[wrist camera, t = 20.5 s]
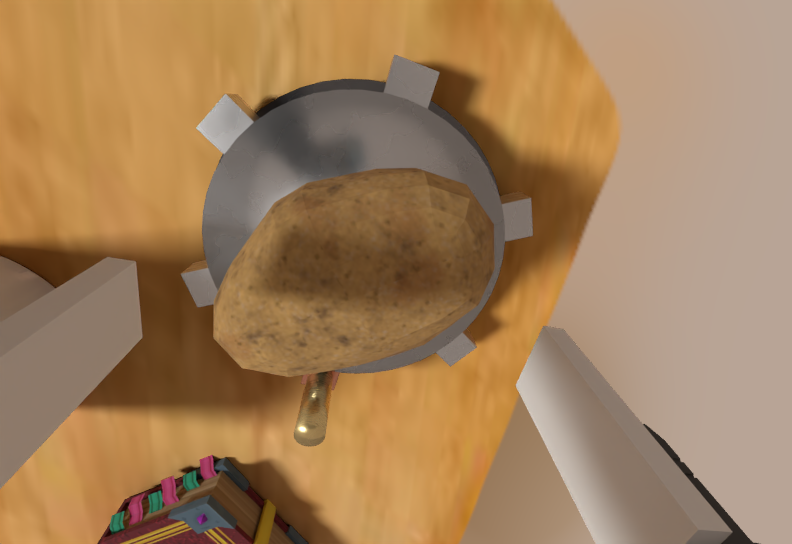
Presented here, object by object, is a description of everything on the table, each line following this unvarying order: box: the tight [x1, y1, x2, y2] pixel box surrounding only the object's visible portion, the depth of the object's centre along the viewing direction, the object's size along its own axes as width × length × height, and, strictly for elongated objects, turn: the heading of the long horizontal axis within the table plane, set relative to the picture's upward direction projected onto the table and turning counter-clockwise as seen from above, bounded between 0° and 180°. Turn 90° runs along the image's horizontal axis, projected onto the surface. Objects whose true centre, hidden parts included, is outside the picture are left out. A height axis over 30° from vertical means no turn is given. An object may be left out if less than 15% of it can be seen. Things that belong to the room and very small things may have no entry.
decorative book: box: [98, 455, 308, 544], centre depth 34 cm, size 11×16×5 cm
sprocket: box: [181, 55, 533, 446], centre depth 21 cm, size 21×20×7 cm
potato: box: [213, 168, 495, 377], centre depth 18 cm, size 10×14×8 cm
